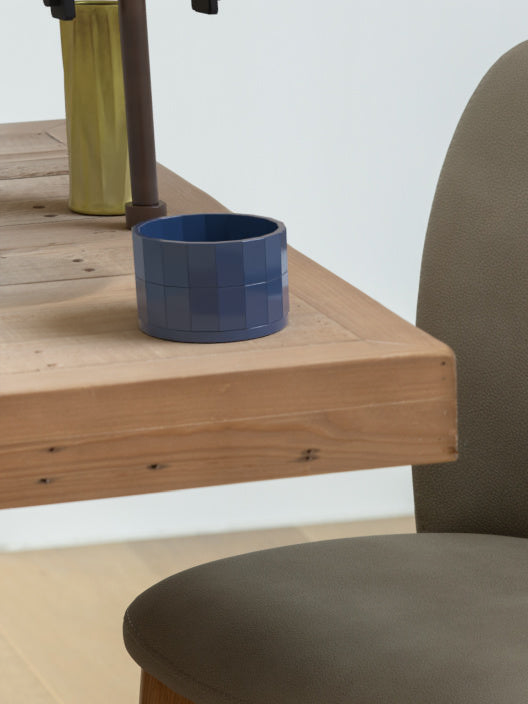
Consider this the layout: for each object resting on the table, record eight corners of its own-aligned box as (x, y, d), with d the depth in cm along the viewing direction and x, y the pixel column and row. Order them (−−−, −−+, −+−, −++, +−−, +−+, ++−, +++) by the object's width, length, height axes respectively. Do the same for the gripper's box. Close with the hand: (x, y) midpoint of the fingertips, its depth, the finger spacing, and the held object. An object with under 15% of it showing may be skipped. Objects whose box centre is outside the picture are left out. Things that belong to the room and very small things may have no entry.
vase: (66, 217, 110) (48, 5, 105) (70, 200, 115) (53, -1, 110) (154, 214, 111) (141, 5, 106) (154, 199, 117) (141, -1, 111)
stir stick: (155, 231, 106) (140, -3, 100) (118, 228, 106) (101, -5, 101) (174, 224, 108) (160, -6, 103) (138, 221, 109) (122, -7, 103)
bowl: (252, 348, 80) (247, 248, 78) (110, 334, 82) (102, 236, 80) (312, 311, 87) (309, 218, 85) (180, 299, 89) (174, 208, 87)
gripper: (-13, -285, 89) (20, 26, 95) (267, -270, 97) (280, 15, 104) (-45, -277, 95) (-12, 16, 101) (222, -263, 103) (236, 6, 110)
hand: (135, 15), depth 102 cm, fingers open, 9 cm apart
